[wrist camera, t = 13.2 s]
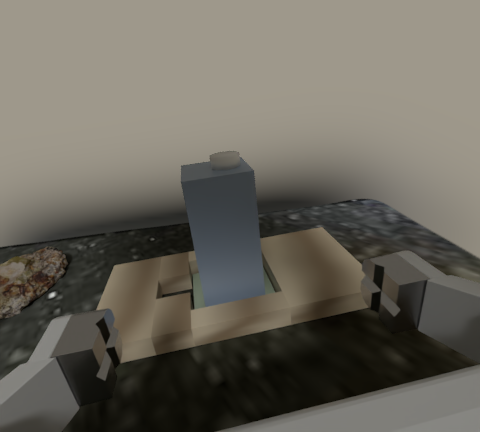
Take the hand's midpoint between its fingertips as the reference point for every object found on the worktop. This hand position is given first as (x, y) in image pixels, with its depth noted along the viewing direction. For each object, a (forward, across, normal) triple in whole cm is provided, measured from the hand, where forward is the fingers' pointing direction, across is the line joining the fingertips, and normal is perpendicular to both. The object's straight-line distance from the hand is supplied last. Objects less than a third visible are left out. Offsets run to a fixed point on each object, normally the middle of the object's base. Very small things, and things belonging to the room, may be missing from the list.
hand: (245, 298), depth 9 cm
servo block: (+12, 0, +9) cm, 15 cm away
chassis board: (+12, 0, +9) cm, 15 cm away
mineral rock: (+18, +19, +10) cm, 28 cm away
